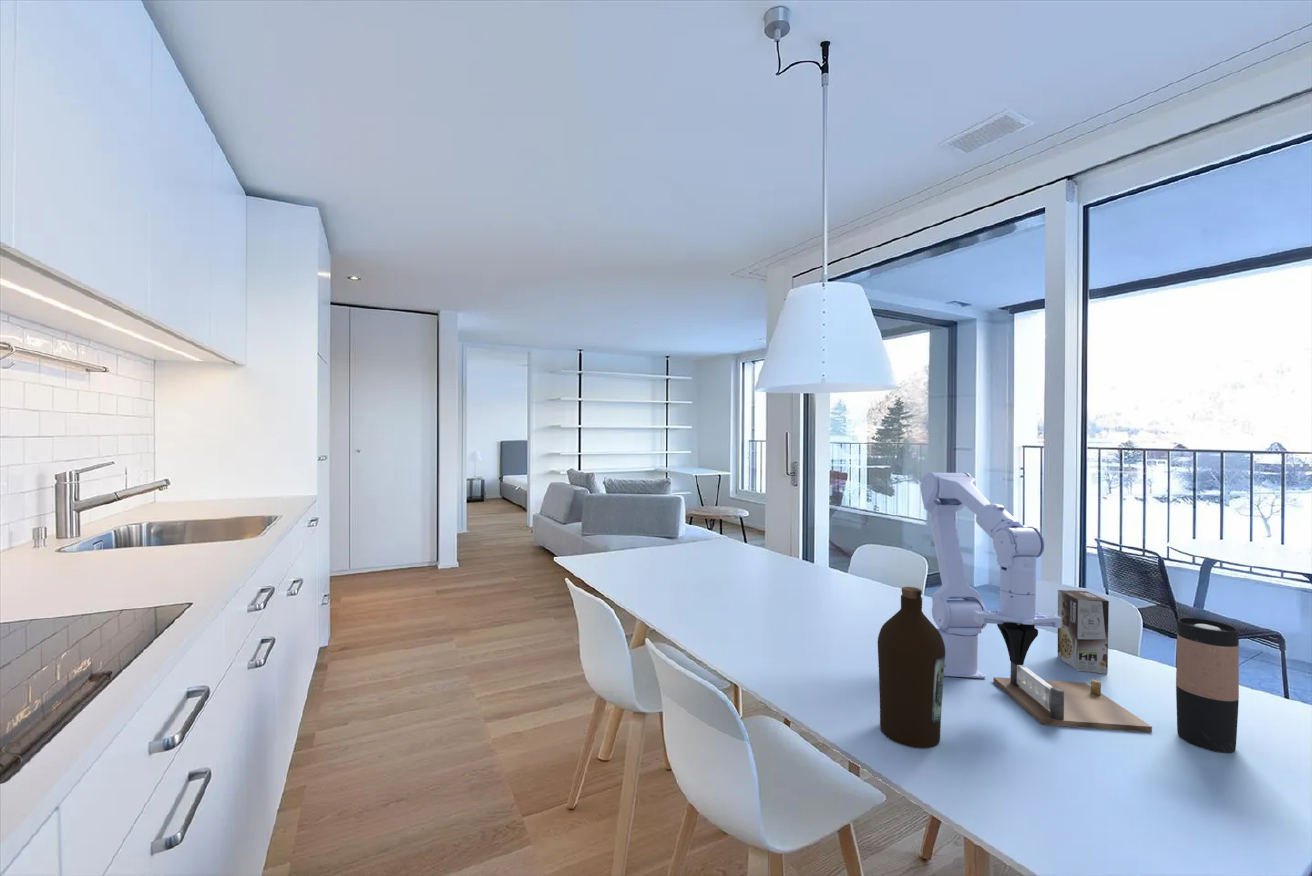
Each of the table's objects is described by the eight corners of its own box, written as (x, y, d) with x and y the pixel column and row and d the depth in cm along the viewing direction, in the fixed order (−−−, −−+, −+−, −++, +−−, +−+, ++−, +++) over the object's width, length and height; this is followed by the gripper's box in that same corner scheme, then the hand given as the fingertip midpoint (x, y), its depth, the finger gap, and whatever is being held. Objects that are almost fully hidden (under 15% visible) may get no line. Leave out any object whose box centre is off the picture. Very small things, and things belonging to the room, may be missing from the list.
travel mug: (1163, 730, 99) (1164, 617, 99) (1202, 729, 100) (1204, 617, 100) (1209, 755, 91) (1210, 632, 91) (1251, 753, 92) (1253, 631, 92)
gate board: (1042, 724, 100) (1042, 688, 100) (993, 681, 118) (993, 651, 118) (1151, 732, 98) (1152, 695, 98) (1085, 687, 116) (1085, 656, 116)
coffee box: (1109, 674, 123) (1110, 601, 123) (1076, 671, 124) (1077, 599, 125) (1086, 658, 132) (1087, 590, 132) (1055, 656, 133) (1056, 588, 133)
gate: (1016, 683, 114) (1016, 664, 114) (1022, 684, 113) (1023, 665, 113) (1048, 709, 102) (1049, 689, 102) (1055, 710, 102) (1056, 689, 102)
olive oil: (872, 740, 94) (874, 591, 94) (880, 713, 103) (882, 578, 104) (943, 758, 89) (945, 601, 89) (944, 728, 98) (946, 586, 99)
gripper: (986, 594, 102) (985, 669, 102) (1072, 598, 101) (1071, 674, 101) (969, 585, 109) (968, 654, 109) (1049, 588, 108) (1048, 659, 108)
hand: (1016, 663), depth 106 cm, fingers closed
